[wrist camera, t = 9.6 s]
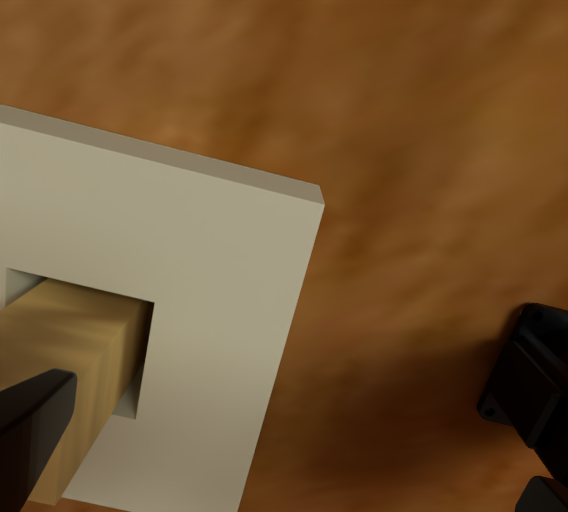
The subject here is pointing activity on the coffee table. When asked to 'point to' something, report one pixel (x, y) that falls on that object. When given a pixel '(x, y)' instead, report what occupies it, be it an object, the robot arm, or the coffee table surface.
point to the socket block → (163, 295)
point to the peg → (74, 360)
